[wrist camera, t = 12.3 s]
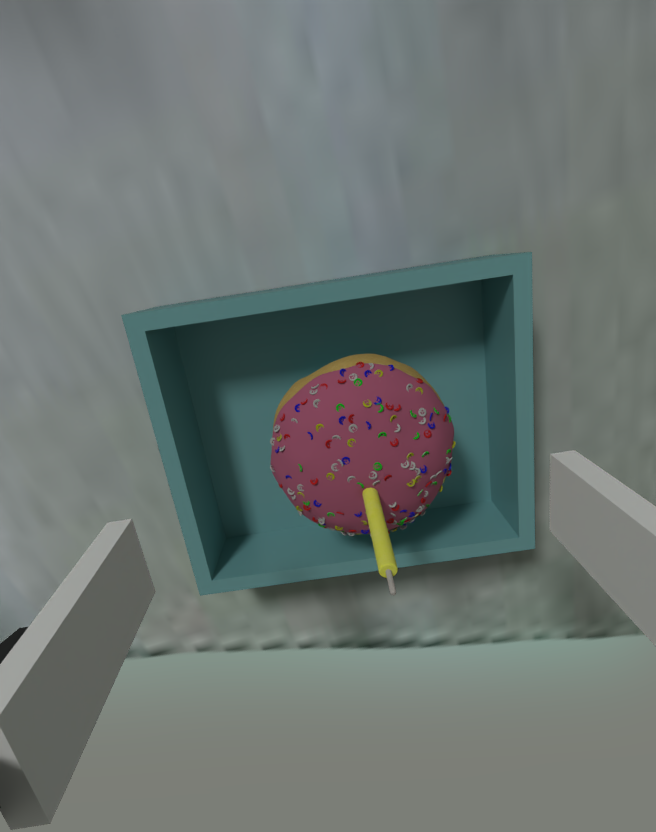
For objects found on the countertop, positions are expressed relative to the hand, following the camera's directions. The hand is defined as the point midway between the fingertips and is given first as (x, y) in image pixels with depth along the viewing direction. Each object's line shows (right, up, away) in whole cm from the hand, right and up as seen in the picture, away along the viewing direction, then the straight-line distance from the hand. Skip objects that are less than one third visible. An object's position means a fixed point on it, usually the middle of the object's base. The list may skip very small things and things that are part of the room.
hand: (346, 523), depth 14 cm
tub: (0, +3, +12) cm, 12 cm away
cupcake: (+1, +3, +11) cm, 12 cm away
